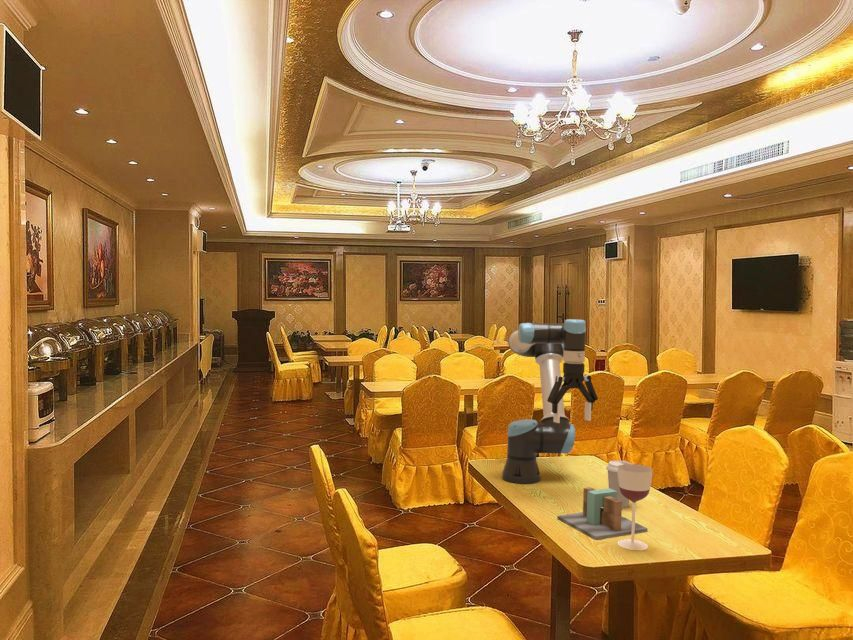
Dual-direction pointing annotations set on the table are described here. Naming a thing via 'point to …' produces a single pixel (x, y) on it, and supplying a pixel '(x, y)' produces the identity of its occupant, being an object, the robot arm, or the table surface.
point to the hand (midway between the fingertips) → (572, 421)
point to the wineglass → (634, 495)
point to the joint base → (602, 520)
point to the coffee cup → (616, 480)
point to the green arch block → (597, 504)
